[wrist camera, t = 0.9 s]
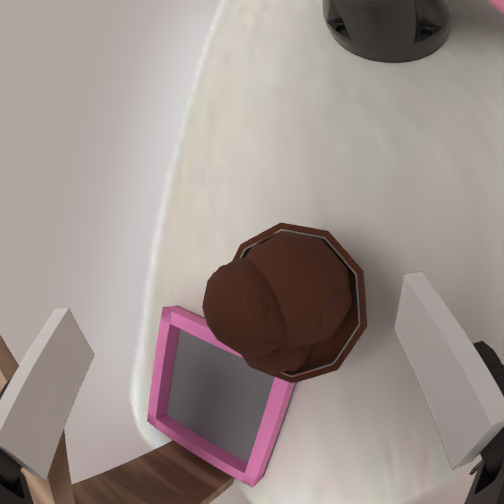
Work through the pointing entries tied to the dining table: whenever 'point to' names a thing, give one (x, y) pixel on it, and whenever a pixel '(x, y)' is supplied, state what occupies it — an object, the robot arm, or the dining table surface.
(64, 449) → the display shelf
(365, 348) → the dining table surface
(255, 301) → the ice cream bowl
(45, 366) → the robot arm
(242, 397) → the seat plate
